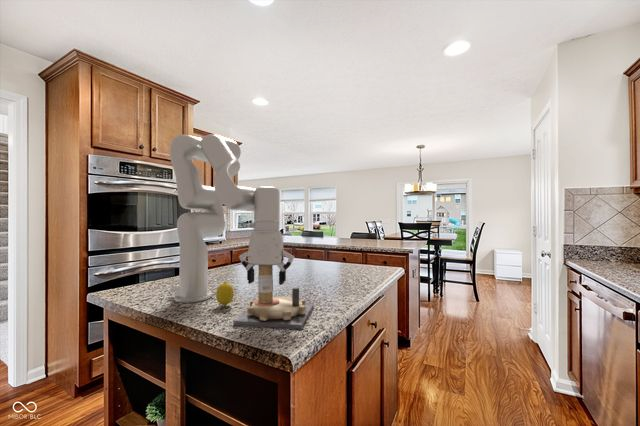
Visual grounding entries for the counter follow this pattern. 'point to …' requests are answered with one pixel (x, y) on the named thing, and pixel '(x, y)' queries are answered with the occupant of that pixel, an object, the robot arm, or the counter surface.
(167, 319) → the counter surface
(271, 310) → the sprocket dial
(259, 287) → the sprinkles bottle
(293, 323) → the dial base
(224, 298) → the lemon
